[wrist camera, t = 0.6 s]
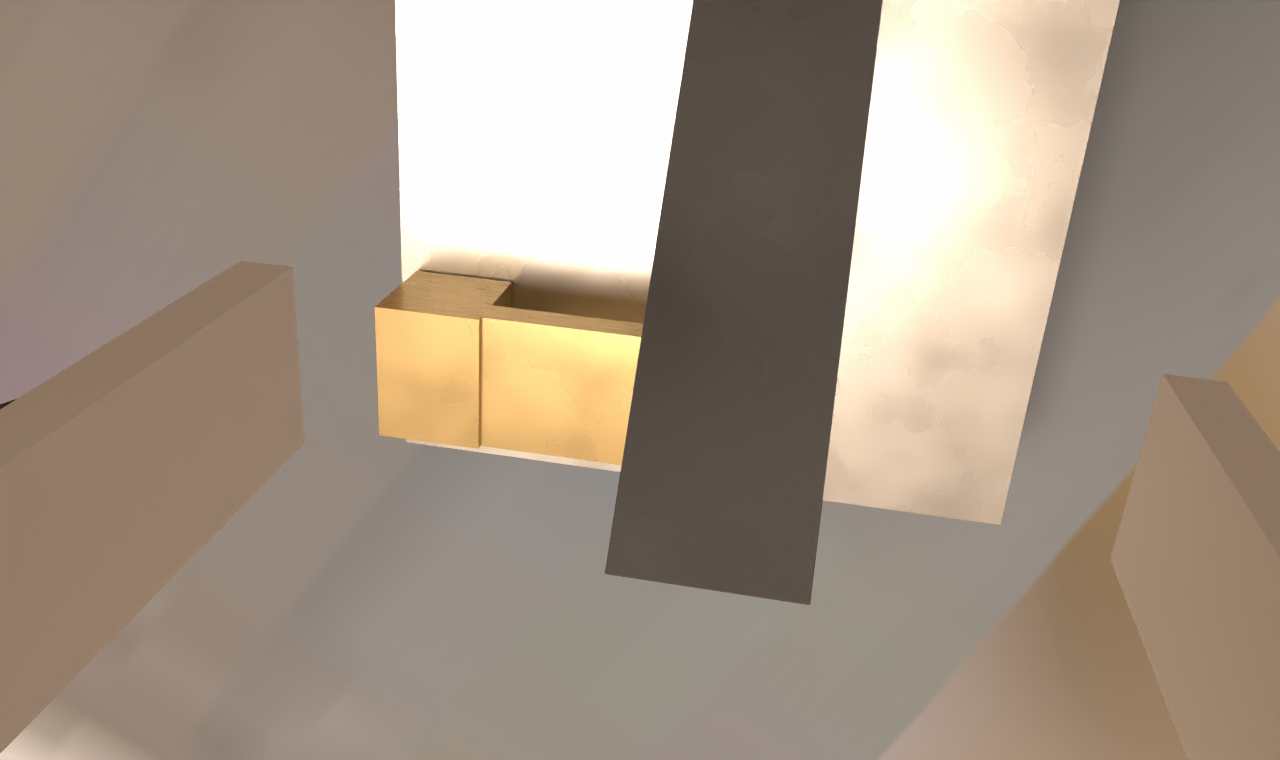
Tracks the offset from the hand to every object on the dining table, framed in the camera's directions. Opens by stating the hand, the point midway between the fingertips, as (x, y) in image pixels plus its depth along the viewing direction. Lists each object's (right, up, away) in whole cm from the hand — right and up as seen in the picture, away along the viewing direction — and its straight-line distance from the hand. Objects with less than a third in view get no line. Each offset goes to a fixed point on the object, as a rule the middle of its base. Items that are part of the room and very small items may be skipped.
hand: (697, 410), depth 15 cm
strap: (+2, +6, +10) cm, 12 cm away
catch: (-4, +1, +19) cm, 20 cm away
